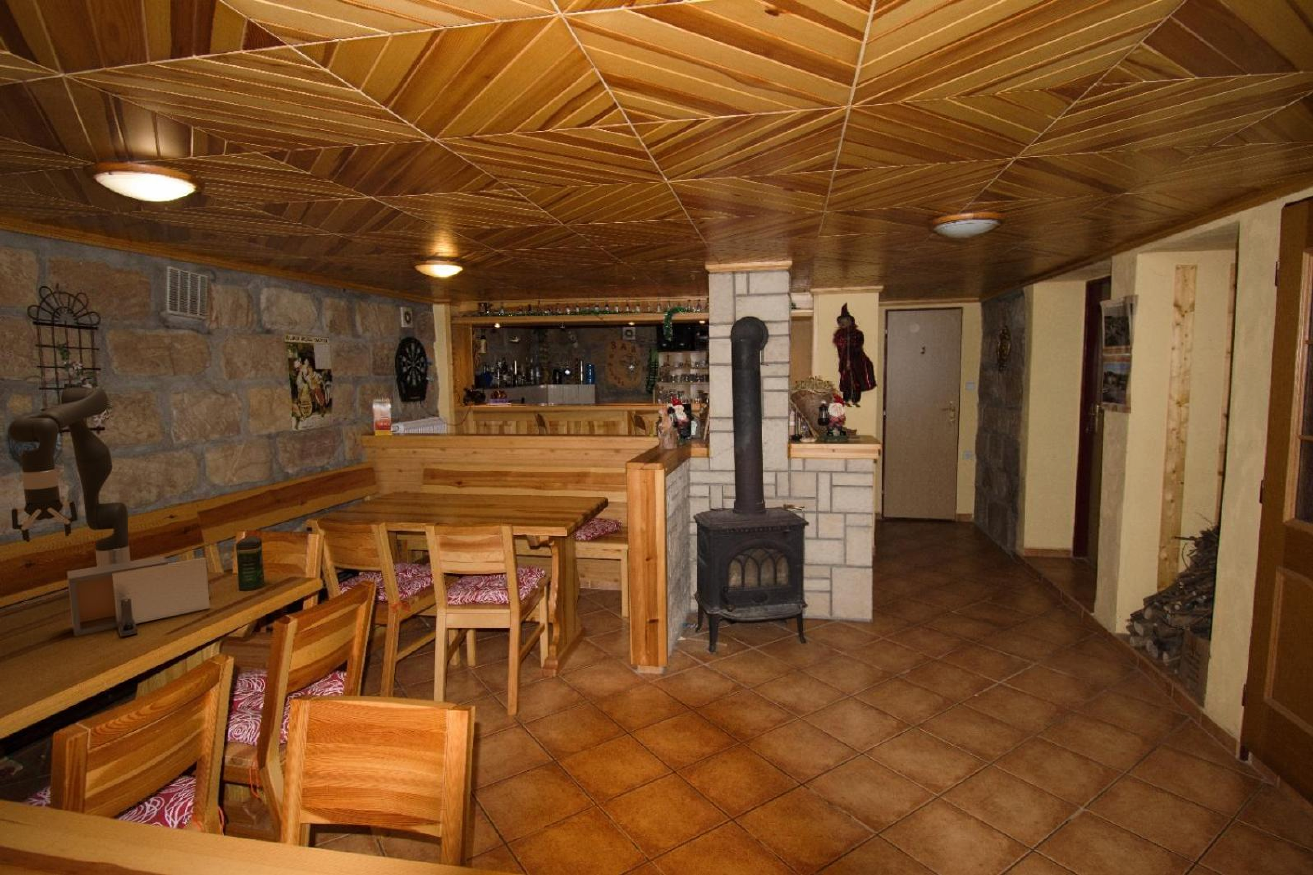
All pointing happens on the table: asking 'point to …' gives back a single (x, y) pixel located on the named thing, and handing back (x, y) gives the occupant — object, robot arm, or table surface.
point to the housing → (98, 594)
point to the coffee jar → (250, 563)
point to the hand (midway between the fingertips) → (47, 538)
